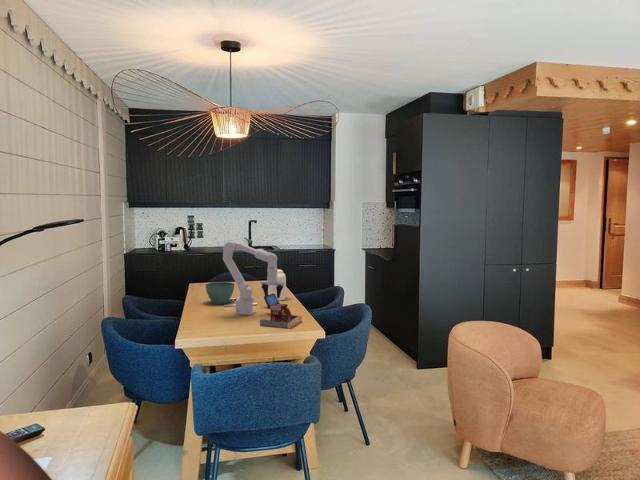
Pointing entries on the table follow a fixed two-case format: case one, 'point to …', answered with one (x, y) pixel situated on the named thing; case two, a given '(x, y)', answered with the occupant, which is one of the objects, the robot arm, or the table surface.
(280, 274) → the white ceramic jar
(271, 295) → the handheld game console
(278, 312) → the toy fire truck
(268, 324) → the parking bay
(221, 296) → the plant pot
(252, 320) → the table surface
